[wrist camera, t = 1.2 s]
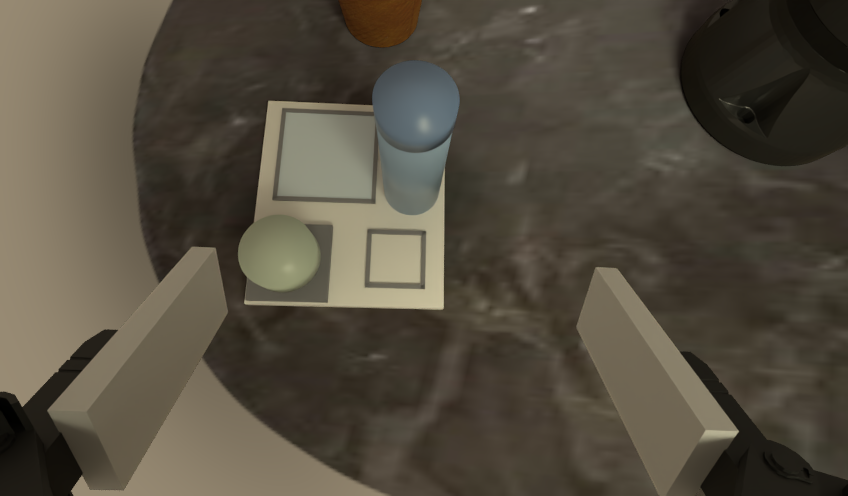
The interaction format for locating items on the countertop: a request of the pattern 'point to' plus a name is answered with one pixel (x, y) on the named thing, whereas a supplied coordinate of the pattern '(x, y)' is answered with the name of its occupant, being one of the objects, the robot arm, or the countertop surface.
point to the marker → (414, 132)
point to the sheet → (346, 212)
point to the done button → (279, 253)
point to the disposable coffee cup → (381, 20)
